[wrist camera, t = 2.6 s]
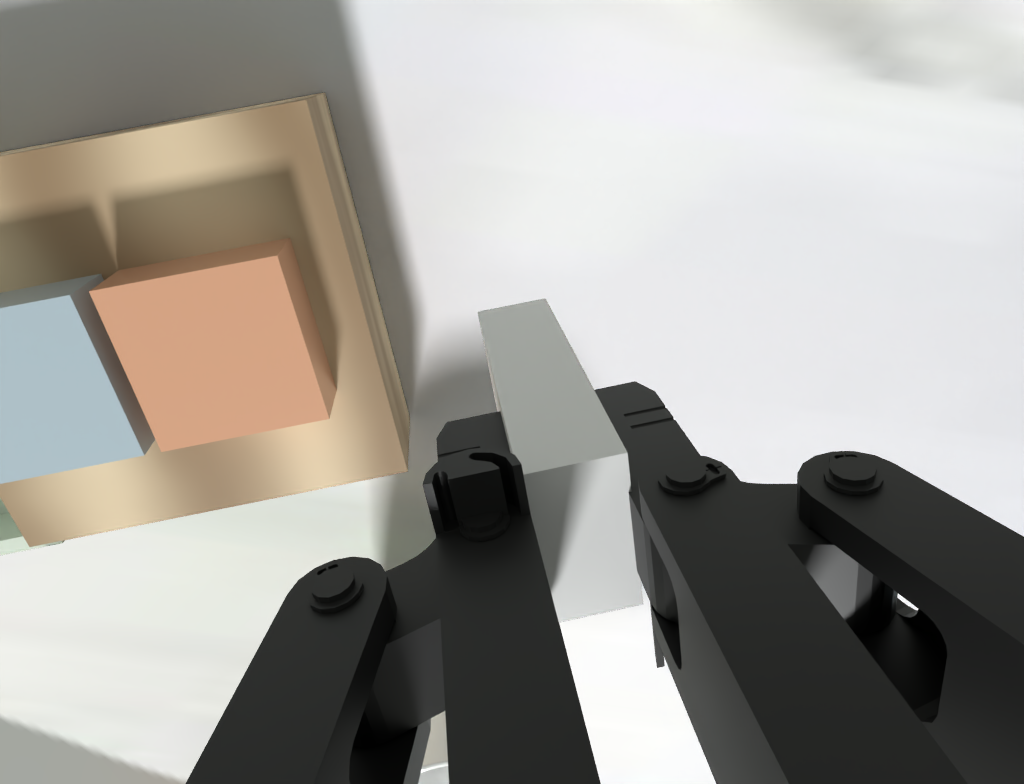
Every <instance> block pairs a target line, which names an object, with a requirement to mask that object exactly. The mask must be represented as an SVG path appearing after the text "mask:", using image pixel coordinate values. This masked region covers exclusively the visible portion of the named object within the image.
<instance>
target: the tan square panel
mask: <svg viewBox="0 0 1024 784" xmlns="http://www.w3.org/2000/svg"><path fill="white" fill-rule="evenodd" d="M286 238H290V239H291V242H292V246H293V249H294V252H295V255H296V259H297V262H298V265H299V268H300V272H301V275H302V278H303V281H304V285H305V288H306V291H307V294H308V298H309V301H310V304H311V307H312V311H313V314H314V317H315V320H316V324H317V327H318V330H319V333H320V337H321V340H322V343H323V346H324V350H325V353H326V356H327V359H328V363H329V366H330V369H331V372H332V376H333V379H334V382H335V385H336V389H337V392H336V395H335V399H334V403H333V407H332V411H331V415H330V419H327V420H322V421H316V422H311V423H306V424H301V425H296V426H291V427H286V428H281V429H276V430H271V431H266V432H261V433H256V434H251V435H246V436H241V437H235V438H230V439H225V440H220V441H215V442H210V443H205V444H200V445H195V446H190V447H185V448H180V449H175V450H170V451H165V452H161V450H160V448H159V446H158V444H157V441H156V440H155V441H154V442H153V444H152V445H151V447H150V448H149V450H148V451H147V452H146V454H145V455H144V456H139V457H134V458H129V459H124V460H119V461H114V462H109V463H104V464H99V465H94V466H89V467H84V468H78V469H73V470H68V471H63V472H58V473H53V474H48V475H43V476H38V477H33V478H28V479H23V480H18V481H13V482H8V483H2V484H0V498H1V500H2V501H3V503H4V505H5V507H6V508H7V510H8V512H9V513H10V515H11V517H12V518H13V520H14V522H15V523H16V525H17V527H18V529H19V530H20V532H21V534H22V535H23V537H24V539H25V540H26V542H27V544H28V545H29V547H33V546H38V545H43V544H48V543H53V542H58V541H63V540H68V539H73V538H78V537H83V536H88V535H93V534H98V533H103V532H108V531H113V530H118V529H123V528H128V527H133V526H138V525H143V524H148V523H153V522H158V521H163V520H168V519H173V518H178V517H183V516H188V515H193V514H198V513H203V512H208V511H213V510H218V509H223V508H228V507H233V506H238V505H243V504H248V503H253V502H258V501H263V500H268V499H273V498H278V497H283V496H288V495H293V494H298V493H303V492H308V491H313V490H318V489H323V488H328V487H333V486H338V485H343V484H348V483H353V482H358V481H363V480H368V479H373V478H378V477H383V476H388V475H393V474H398V473H403V472H408V450H409V426H410V416H409V413H408V409H407V405H406V401H405V397H404V393H403V390H402V386H401V382H400V378H399V374H398V370H397V367H396V363H395V359H394V355H393V351H392V347H391V344H390V340H389V336H388V332H387V328H386V324H385V321H384V317H383V313H382V309H381V305H380V301H379V298H378V294H377V290H376V286H375V282H374V278H373V275H372V271H371V267H370V263H369V259H368V255H367V252H366V248H365V244H364V240H363V236H362V232H361V229H360V225H359V221H358V217H357V213H356V209H355V206H354V202H353V198H352V194H351V190H350V186H349V183H348V179H347V175H346V171H345V167H344V163H343V160H342V156H341V152H340V148H339V144H338V140H337V137H336V133H335V129H334V125H333V121H332V117H331V114H330V110H329V106H328V102H327V98H326V94H325V92H324V93H319V94H313V95H308V96H302V97H297V98H292V99H286V100H281V101H275V102H270V103H264V104H259V105H254V106H248V107H243V108H237V109H232V110H226V111H221V112H216V113H210V114H205V115H199V116H194V117H189V118H183V119H178V120H172V121H167V122H161V123H156V124H151V125H145V126H140V127H134V128H129V129H123V130H118V131H113V132H107V133H102V134H96V135H91V136H85V137H80V138H75V139H69V140H64V141H58V142H53V143H47V144H42V145H37V146H31V147H26V148H20V149H15V150H9V151H4V152H0V293H2V292H7V291H12V290H18V289H23V288H28V287H33V286H39V285H44V284H49V283H55V282H60V281H65V280H70V279H76V278H81V277H86V276H91V275H97V274H101V275H102V277H103V279H104V280H105V279H107V278H108V277H110V276H111V275H113V274H114V273H115V272H117V271H118V270H123V269H128V268H134V267H139V266H144V265H149V264H155V263H160V262H165V261H170V260H176V259H181V258H186V257H191V256H197V255H202V254H207V253H213V252H218V251H223V250H228V249H234V248H239V247H244V246H249V245H255V244H260V243H265V242H270V241H276V240H281V239H286Z"/></svg>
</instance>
